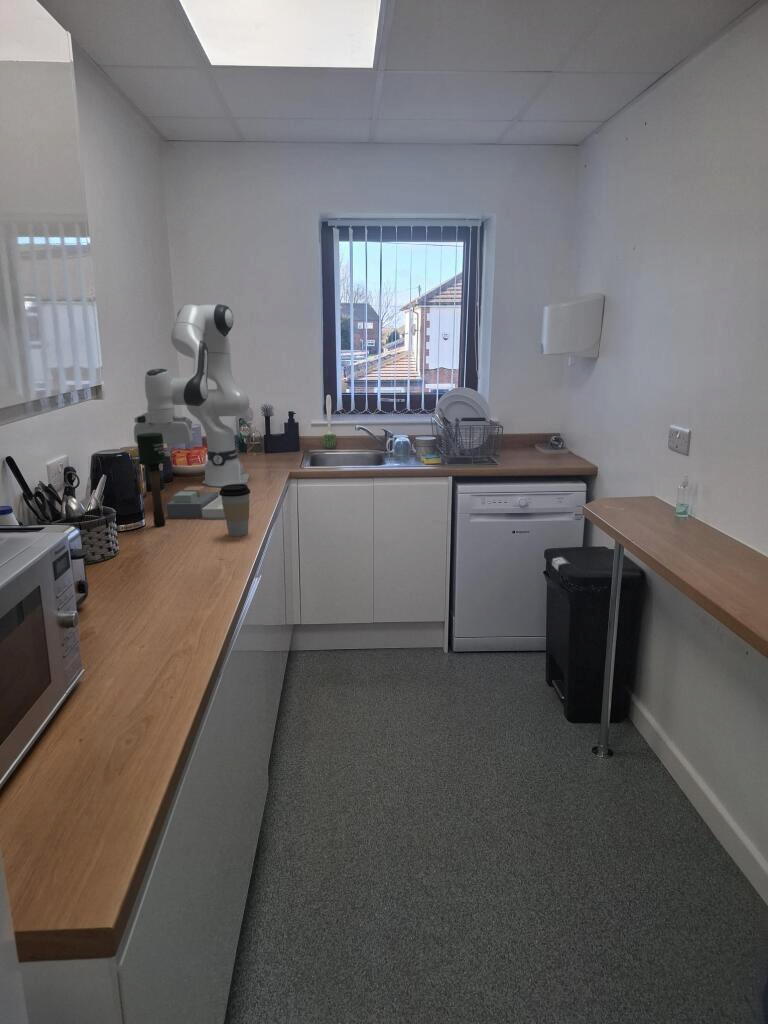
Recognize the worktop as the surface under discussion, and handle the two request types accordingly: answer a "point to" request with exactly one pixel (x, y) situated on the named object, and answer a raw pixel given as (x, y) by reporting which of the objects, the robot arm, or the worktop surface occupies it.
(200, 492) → the tile
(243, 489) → the coffee cup
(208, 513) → the box
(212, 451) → the robot arm
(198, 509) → the dark grey slab
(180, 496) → the tile
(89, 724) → the worktop surface
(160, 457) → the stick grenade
